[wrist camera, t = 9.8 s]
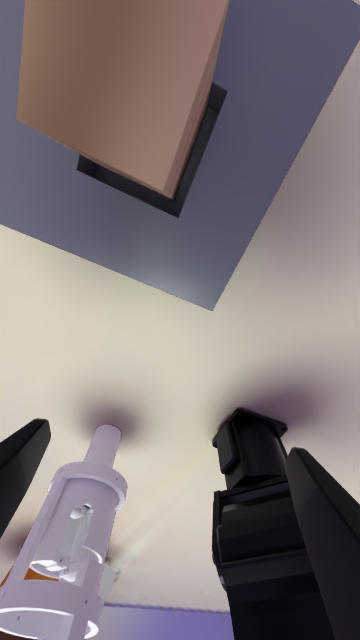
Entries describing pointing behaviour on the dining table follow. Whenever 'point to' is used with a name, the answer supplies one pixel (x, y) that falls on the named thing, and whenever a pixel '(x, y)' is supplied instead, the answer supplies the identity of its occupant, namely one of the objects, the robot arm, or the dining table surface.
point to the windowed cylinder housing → (67, 549)
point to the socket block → (206, 159)
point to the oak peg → (121, 81)
